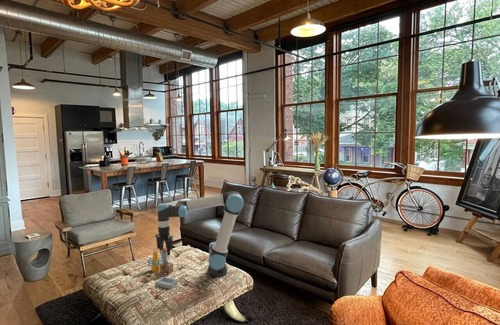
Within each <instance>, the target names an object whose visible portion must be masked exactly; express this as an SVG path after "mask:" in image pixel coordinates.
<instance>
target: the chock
mask: <svg viewBox="0 0 500 325" xmlns="http://www.w3.org/2000/svg"><path fill="white" fill-rule="evenodd" d="M159 272H160V274H163V273H166V274H165V275H168V274H169V275H171V274H172V273H173V272H174V263H173V262H169V261H168V265H167V266H163V263H162V262H161V263H160V270H159ZM170 273H171V274H170Z"/></svg>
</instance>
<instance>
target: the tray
mask: <svg viewBox="0 0 500 325" xmlns="http://www.w3.org/2000/svg"><path fill="white" fill-rule="evenodd" d="M178 284H179V283H178V278H177V279H176V278H171V277H167V276H163V277H161V278H159V279H158V280H157V281H155V286H156V287H159V286H160V287H161V288H164V289H168V288H169V289H168V290H171V289H172V288H173V287H175V286H176V285H178Z"/></svg>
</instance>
